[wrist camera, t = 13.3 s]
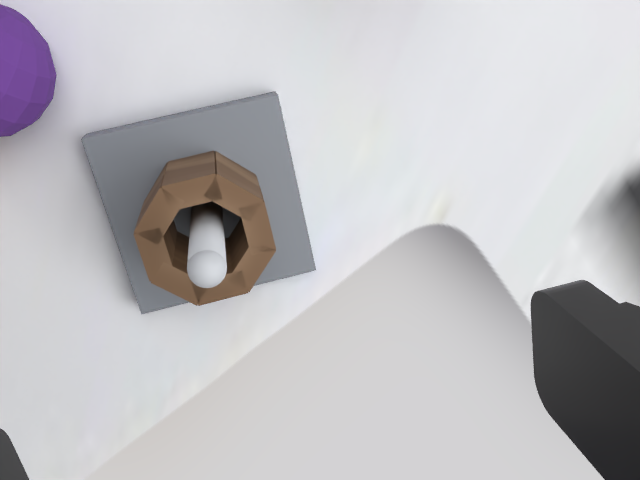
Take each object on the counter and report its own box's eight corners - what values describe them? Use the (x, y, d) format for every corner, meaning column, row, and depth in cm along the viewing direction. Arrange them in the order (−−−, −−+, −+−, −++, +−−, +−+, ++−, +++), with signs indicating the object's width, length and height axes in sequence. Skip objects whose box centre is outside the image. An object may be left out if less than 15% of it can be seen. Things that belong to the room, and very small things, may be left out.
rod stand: (86, 133, 32) (33, 186, 22) (274, 91, 33) (304, 123, 23) (144, 302, 35) (120, 412, 26) (311, 260, 36) (350, 350, 27)
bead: (133, 169, 31) (120, 196, 27) (248, 142, 32) (255, 163, 27) (167, 274, 34) (160, 315, 29) (274, 247, 34) (284, 283, 29)
